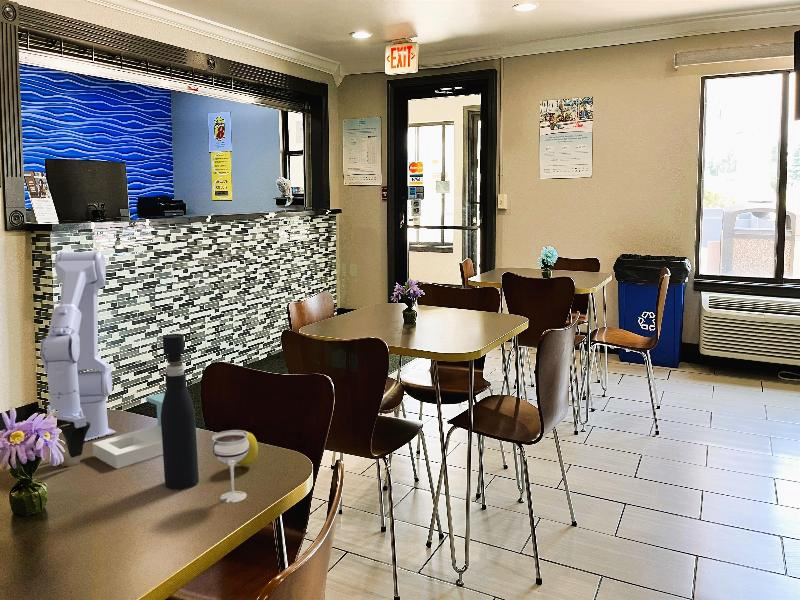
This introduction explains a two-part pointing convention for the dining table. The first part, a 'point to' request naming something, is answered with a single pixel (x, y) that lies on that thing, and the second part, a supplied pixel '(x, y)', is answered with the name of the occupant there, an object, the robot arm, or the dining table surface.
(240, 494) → the wineglass
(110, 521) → the dining table surface
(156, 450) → the socket block
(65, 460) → the peg
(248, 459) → the lemon
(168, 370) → the wine bottle
